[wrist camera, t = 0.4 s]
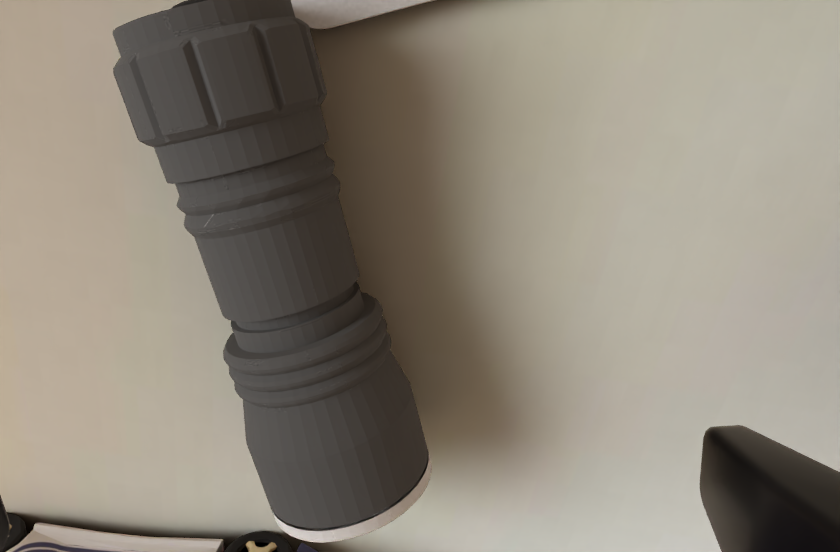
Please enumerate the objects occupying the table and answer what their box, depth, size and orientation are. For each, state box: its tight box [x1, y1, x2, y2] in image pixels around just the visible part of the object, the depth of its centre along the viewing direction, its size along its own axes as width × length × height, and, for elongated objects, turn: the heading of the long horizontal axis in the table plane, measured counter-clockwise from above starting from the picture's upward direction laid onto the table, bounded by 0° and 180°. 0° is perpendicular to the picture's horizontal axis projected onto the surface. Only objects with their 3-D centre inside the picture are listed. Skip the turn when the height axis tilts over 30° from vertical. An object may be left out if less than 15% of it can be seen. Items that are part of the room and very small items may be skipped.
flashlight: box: [113, 0, 432, 543], centre depth 19 cm, size 15×5×5 cm, turn 13°
